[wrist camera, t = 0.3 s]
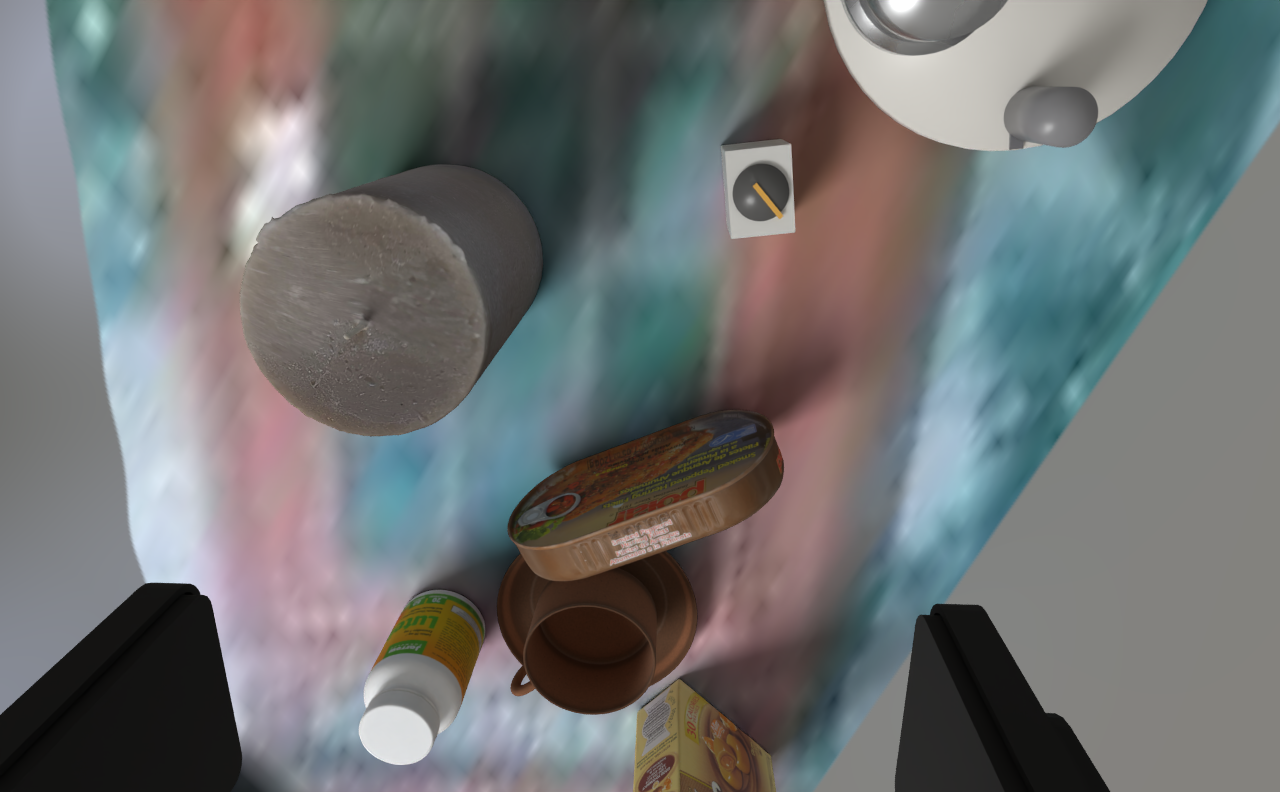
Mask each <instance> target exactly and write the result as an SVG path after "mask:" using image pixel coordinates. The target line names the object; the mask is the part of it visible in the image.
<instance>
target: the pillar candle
mask: <svg viewBox="0 0 1280 792" xmlns="http://www.w3.org/2000/svg"><path fill="white" fill-rule="evenodd" d="M256 241H257V242H258V244H256V245H255V246H254V248H253V252H252V253H251V257H250V258H249V260H248V261H247V263H246V266H245V272H244V275H243V281H242V285H241V290H240V309H241V310H240V314H241V320H242V326H243V333H244V337H245V340H246V343H247V346H248V348H249V350H250V352H251V354H252V356H253V358H254V360H255V361H256V363H257V365H258V367H259V369H260V370H261V372H262V373H263V374H264V376H265V377H266V378H267V379H268V380H269V382H270V383H271V384H272V385H273V386H274V388H275V389H276V390H277V391H278V392H279V393H280V394H281V395H282V396H283V397H284V398H285V399H286V400H287V401H288V402H289V403H290V404H292V405H293V406H294V407H296V408H298V409H299V410H300V411H301V412H302V413H303V414H304V415H306V416H308V417H311V418H313V419H315V420H316V421H318V422H321V423H323V424H326V425H328V426H330V427H332V428H335V429H337V430H339V431H345V432H347V433H352V434H359V435H363V436H386V435H401V434H406V433H409V432H412V431H415V430H418V429H421V428H424V427H427V426H429V425H432V424H434V423H436V422H437V421H439V420H440V419H442V418H443V417H445V416H446V415H447V414H448V413H450V412H451V411H452V410H453V409H455V408H456V407H457V406H458V405H459V404H460V403H461V402H462V401H463V400H464V398H465V397H466V396H467V395H468V394H469V392H470V391H471V389H472V388H473V386H474V385H475V384H476V382H477V381H478V379H479V378H480V377H481V375H482V374H483V372H484V371H485V369H486V368H487V367H488V365H489V364H490V362H491V361H492V359H493V358H494V357H495V355H496V354H497V353H498V351H499V350H500V348H501V347H502V346H503V344H504V343H505V342H506V340H507V339H508V337H509V336H510V335H511V333H512V332H513V330H514V329H515V328H516V326H517V325H518V324H519V322H520V320H521V319H522V317H523V316H524V314H525V313H526V312H527V310H528V309H529V307H530V306H531V304H532V302H533V300H534V298H535V296H536V294H537V290H538V287H539V284H540V281H541V277H542V269H543V256H542V255H543V253H542V245H541V240H540V237H539V233H538V230H537V227H536V225H535V222H534V220H533V218H532V216H531V215H530V213H529V211H528V209H527V208H526V206H525V205H524V204H523V203H522V201H521V200H520V199H519V198H518V196H517V195H516V194H515V193H514V192H513V191H512V190H510V189H509V188H508V187H507V186H506V185H505V184H503V183H502V182H501V181H499V180H498V179H496V178H495V177H493V176H491V175H489V174H487V173H485V172H483V171H481V170H478V169H475V168H471V167H467V166H461V165H445V164H437V165H429V166H423V167H419V168H415V169H412V170H408V171H405V172H402V173H399V174H396V175H392V176H389V177H385V178H381V179H379V180H376V181H374V182H370V183H367V184H364V185H361V186H358V187H354V188H351V189H348V190H346V191H343V192H339V193H336V194H329V195H326V196H323V197H321V198H317V199H312V200H311V201H309V202H306V203H303V204H300V205H297V206H295V207H294V208H292V209H291V210H289V211H288V212H286V213H285V214H283V215H282V216H281V217H280V218H275V219H274V218H273V217H272V219H271V221H270V222H269V223H266V224H264V226H263V228H262V229H261V230H260V232H259V234H258V236H257V239H256Z"/></svg>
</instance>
